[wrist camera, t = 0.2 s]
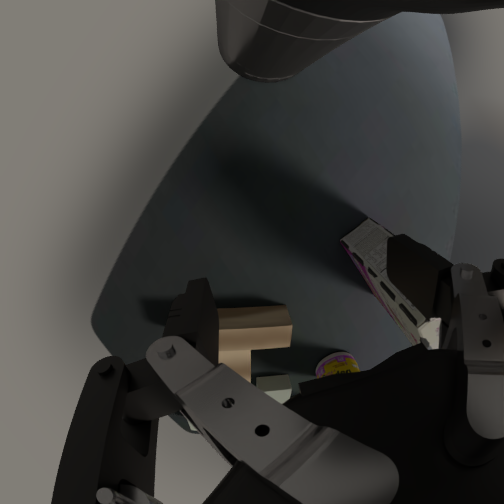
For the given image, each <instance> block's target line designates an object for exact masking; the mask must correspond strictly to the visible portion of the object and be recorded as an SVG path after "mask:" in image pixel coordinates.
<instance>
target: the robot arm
mask: <svg viewBox="0 0 504 504" xmlns="http://www.w3.org/2000/svg"><path fill="white" fill-rule="evenodd" d="M215 3H216V18H217V34H218V46H219V50H220V54H221V56H222V58H223V60H224V61H225V62H226V64H227V65H228V66H229V67H230V68H231V69H232V70H233V71H235V72H236V73H237V74H239V75H241V76H243V77H245V78H247V79H250V80H253V81H258V82H266V83H267V82H278V81H283V80H286V79H288V78H291V77H293V76H295V75H296V74H298V73H299V72H300V71H302V70H303V69H305V68H306V67H308V66H310V65H311V64H312V63H314V62H315V61H317V60H318V59H320V58H321V57H323V56H324V55H326V54H328V53H329V52H331V51H332V50H334V49H335V48H337V47H339V46H340V45H342V44H344V43H345V42H347V41H349V40H350V39H352V38H354V37H355V36H357V35H359V34H361V33H362V32H364V31H366V30H367V29H369V28H371V27H373V26H375V25H377V24H378V23H380V22H382V21H384V20H386V19H388V18H390V17H392V16H394V15H396V14H398V13H400V12H418V13H431V14H454V13H464V12H471V11H479V10H486V9H495V8H504V0H215ZM386 271H387V276H388V278H389V280H390V282H391V283H392V284H393V285H394V286H395V287H396V288H397V289H398V290H399V291H400V292H401V293H402V294H403V295H404V296H405V297H406V298H407V299H408V300H409V301H410V302H411V303H412V304H413V305H414V306H415V307H416V308H417V309H418V310H419V312H420V313H421V314H422V315H423V316H424V317H425V318H426V319H427V320H428V321H429V322H431V321H433V320H436V319H438V318H441V322H440V326H439V349H430V350H428V349H427V348H426V347H425V345H424V344H423V343H422V342H421V343H419V344H416V345H414V346H412V347H409V348H407V349H404V350H402V351H399V352H397V353H395V354H394V355H392V356H391V357H389V358H388V359H386V360H385V361H383V362H382V363H380V364H378V365H377V366H375V367H374V368H372V369H370V370H367V371H359V372H351V373H341V374H332V375H328V376H325V377H321V378H317V379H314V380H310V381H306V382H302V383H298V384H299V391H300V393H299V394H297V395H295V396H293V397H292V398H290V399H288V400H287V401H285V402H284V403H283V404H281V403H279V402H278V401H276V400H275V399H273V398H272V397H270V396H269V395H267V394H266V393H264V392H263V391H262V390H260V389H259V388H257V387H256V386H254V385H253V384H252V383H250V382H249V381H247V380H246V379H245V378H243V377H242V376H240V375H239V374H238V373H236V372H235V371H234V370H232V369H231V368H230V367H228V366H227V365H226V364H224V363H219V316H218V311H217V308H216V304H215V301H214V298H213V295H212V292H211V289H210V285H209V282H208V280H207V278H206V277H205V278H201V279H196V280H191V281H188V285H187V289H186V293H185V294H180V295H178V296H177V298H176V299H175V300H174V301H173V302H172V305H171V308H170V312H169V315H168V319H167V322H166V326H165V329H164V333H163V336H162V338H161V339H159V340H157V341H156V342H154V343H153V344H152V345H151V346H150V347H149V348H148V350H147V352H146V358H145V359H142V360H139V361H137V362H134V363H131V364H128V365H125V363H124V362H123V360H122V359H121V358H120V357H117V356H109V357H105V358H103V359H101V360H99V361H98V362H97V363H95V364H94V365H93V366H92V368H91V370H90V372H89V374H88V377H87V379H86V382H85V385H84V387H83V390H82V393H81V395H80V398H79V401H78V404H77V407H76V410H75V413H74V416H73V419H72V422H71V425H70V429H69V432H68V435H67V438H66V442H65V445H64V449H63V453H62V456H61V460H60V465H59V469H58V473H57V477H56V482H55V486H54V491H53V497H52V502H51V504H163V503H162V502H160V501H159V500H157V499H155V498H154V482H155V460H156V446H157V433H158V422H159V418H160V417H163V416H166V415H169V414H172V413H175V412H177V411H180V412H181V413H182V414H183V415H184V416H185V418H186V419H187V420H188V421H189V422H190V423H191V424H192V425H193V427H194V428H195V429H196V430H197V431H198V432H199V433H200V434H201V435H202V436H203V437H204V438H205V439H206V440H207V442H208V443H209V444H210V445H211V446H212V447H213V448H214V449H215V450H216V451H217V453H219V455H220V456H221V457H222V458H223V459H224V460H225V461H226V462H227V463H228V464H229V465H231V466H232V468H231V469H230V471H229V472H228V473H227V475H226V476H225V477H224V478H223V480H222V481H221V482H220V483H219V484H218V486H217V487H216V488H215V489H214V491H213V492H212V493H211V494H210V495H209V497H208V498H207V499H206V500H205V501H204V502H203V504H504V259H497V260H495V261H494V262H493V265H492V270H491V272H485V273H482V272H481V271H480V269H479V268H477V267H476V266H474V265H472V264H468V263H458V264H455V265H453V264H452V263H451V262H449V261H448V260H446V259H445V258H443V257H442V256H440V255H439V254H438V255H437V253H436V252H435V251H432V249H430V248H428V247H427V246H425V245H423V244H420V243H418V242H416V241H415V240H413V239H411V238H410V237H408V236H407V235H405V234H400V235H396V236H392V237H389V238H388V240H387V264H386Z"/></svg>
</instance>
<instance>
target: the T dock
mask: <svg viewBox="0 0 504 504" xmlns="http://www.w3.org/2000/svg"><path fill="white" fill-rule="evenodd" d="M256 387H257V388H259V389H260V390H262V391H263V392H264V393H266V394H267V395H269V396H270V397H272V398H273V399H275V400H276V401H278V402H279V403H281V404H283V403H284V402H285V401H287V400H288V399H290V395H291V390H292V388H291V384H290V380H289V376H288V374H287V375H277V376H266V377H256ZM188 423H189V425H190V428H191V430H196V429H195V428H194V427H193V425H192V424H191V423H190V422H189V421H188Z"/></svg>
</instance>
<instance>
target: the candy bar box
mask: <svg viewBox="0 0 504 504" xmlns="http://www.w3.org/2000/svg"><path fill="white" fill-rule="evenodd" d="M392 236H395V235H394V234H392V233H391V232H390V231H388V230H387V229H385V228H384V227H383V226H381V225H380V224H378V223H377V222H375V221H374V220H372V219H371V218H368V219H366V220H365V221H363V222H362V223H361V224H360V225H359V226H358V227H356V228H355V229H354V230H353V231H351V232H350V233H348V234H347V235H346V236H344V237H343V238H342V239H341V240H340V243H341V244H342V246H343V247H344V249H345V250H346V252H347V253H348V255H349V256H350V258H351V259H352V261H353V262H354V264H355V265H356V267H357V268H358V270H359V272H360V273H361V275H362V276H363V278H364V279H365V281H366V283H367V284H368V286H369V288H370V289H371V291H372V293H373V294H374V296H375V297H376V298H377V299H378V300H379V302H380V303H381V304H382V306H383V307H384V308H385V309H386V311H387V312H388V313H389V314H390V316H391V317H392V318H393V320H394V321H395V322H396V324H397V325H398V326H399V328H400V329H401V330H402V331H403V333H404V334H405V336H406V337H407V338H408V340H409V341H410V342H411V344H412V345H413V346H414V345H416V344H419V343H421V342H422V343H423V344H424V345H425V347H426V348H427V349H428V350H430V349H439V326H440V322H441V318H438V319H436V320H433V321H431V322H429V321H428V320H427V319H426V318H425V317H424V316H423V315H422V314H421V313H420V312H419V310H418V309H417V308H416V307H415V306H414V305H413V304H412V303H411V302H410V301H409V300H408V299H407V298H406V297H405V296H404V295H403V294H402V293H401V292H400V291H399V290H398V289H397V288H396V287H395V286H394V285H393V284H392V283H391V282H390V280H389V278H388V276H387V271H386V264H387V240H388V238H389V237H392Z"/></svg>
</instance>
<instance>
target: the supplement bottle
mask: <svg viewBox="0 0 504 504" xmlns="http://www.w3.org/2000/svg"><path fill="white" fill-rule="evenodd" d="M359 371H360V370H359V368H358V365H357V363H356V361H355V359H354V357H353V356H352V355H351V354H349V353H347V352H336V353H333V354H331V355H328V356H327V357H325V358H324V359H322V360H321V361H320V362H319V363H318V365H317V367H316V376H317V378H321V377H325V376H328V375H332V374H341V373H351V372H359Z"/></svg>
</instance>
